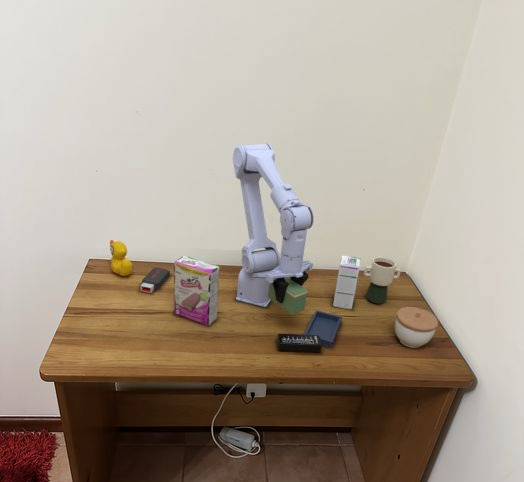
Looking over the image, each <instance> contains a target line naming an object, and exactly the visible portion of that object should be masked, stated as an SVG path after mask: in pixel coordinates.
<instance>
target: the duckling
mask: <svg viewBox="0 0 524 482" xmlns="http://www.w3.org/2000/svg"><path fill="white" fill-rule="evenodd" d="M109 251H110V254H111V256H112V257H111V258H110V268H111V271H113V272H114V273H115V274H118V275H119V276H122V277H127V276H130V275H131V274H132V273H133V268H134V265H133V263H132V262H131V260H130V259H129V258H126V256H127V254H128V248H127V246H126V244H125V243H124V242H122V241H120V240H117V241H114V240H113V239H111V240H109Z"/></svg>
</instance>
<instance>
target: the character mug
mask: <svg viewBox="0 0 524 482" xmlns="http://www.w3.org/2000/svg"><path fill="white" fill-rule="evenodd" d="M368 270H369V272H368ZM401 272H402V269H401V268H397V263H396V261H395V260H393V259H391V258H389V257H385V256H377V257H374V258H373V259H372V261H371V264H370V265H366V266H364V269H363V274H362V275H363V276H364V277H368V280H369V281H370V283H369V286H368V288H367V290H366V294H365V297H366V299H367V300H368V301H370V302H371V303H374V304H383V303H385V302H387V297H388V288H389V287H388V286H390V285H391V284H392V283H393V281H394V279H397V280H398V279H399V278H400V276H401ZM395 273H396V274H395Z"/></svg>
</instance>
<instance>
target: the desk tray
mask: <svg viewBox="0 0 524 482" xmlns="http://www.w3.org/2000/svg"><path fill="white" fill-rule="evenodd" d="M342 319H343V316H342V315H341V316H340V315H336V314H332V313H329V312H325V311H320V310H317V309H316V310H315V311H314V313H313V315H312V317H311V319H310V322H309V323H308V326H307V328H306V330H305V332H304V334H303V335H319V336H320V339H321V343H322V347H325V348H326V347H327V348H330V349H332V347H333V345H334V342H335V339H336V337H337V334H338V331H339V330H340V326H341V323H342Z"/></svg>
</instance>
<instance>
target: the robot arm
mask: <svg viewBox="0 0 524 482" xmlns="http://www.w3.org/2000/svg"><path fill="white" fill-rule="evenodd" d="M275 162H276V152H275V150H274V147H272V145H271V144H270V143H267V142H266V143H261V144H260V143H259V144H236V146H235V148H234V149H233V153H232V163H233V169H234V174H235V178H236V179H238V180H239V183H240V189H241V196H242V201H243V207H244V213H245V221H246V226H247V233H248V239H249V240H248V241H247V242H246V243H245V244H244V246H242V248H241V266H242V268H241V269H240V271H239V274H238V277H237V288H236V297H235V300H236V301H238V302H243V303H245V304H246V303H247V304H251V305H254V306H258V307H262V308H267V307H268V305H269V304H270V302H271V301H272V300H271V299H270V298H268V291H269V283H272V284H273V287H274V290H275V295H276V300H277V301H278V302H280V303H283V301H284V297H285V292H286V289H287V287H288V285H289V283H288V282H286V281H285V279H284V277H288V278H289V279H291V280H292V281H294V282H296V283H297V284H299V285H300V286H302V287H303V286H304V284H305V283H306V281H308V279H309V277H310V275H309V273H307V272H306V271H312V270H313V266H314V263H313V262H311V261H310V260H304V253H305V247H306V240H307V234H308V230H309V229H311V228H312V227H313V225H314V213H313V212H314V211H313V210H312V207H310V205H309V204H305V202H301V200H300V199H299V197H298V195H297V194H296V192H295V191H294V189H293V187H292V185H291V184H290V183H287V182H284V180H283V179H282V175H281V173H280V171H279V170H278V167H277V165H276V163H275ZM262 178H263V180H264V182H265V183H266V184H267V186H268V187H269V188H270V190H271V191H270V199H271V200H272V202H273V204H274V206H275V207H276V209H277V211H278V213H279V223H280V227H281V228H280V229H281V230H280V233H281V236H282V241H281V248H280V253H279V251H278V248H277V244H276V242H275V241H273V240H272V239H271V238H268V235H267V227H266V220H265V214H264V208H263V207H264V206H263V202H262V201H263V200H262V195H261V188H260V180H261V179H262ZM303 260H304V261H303Z"/></svg>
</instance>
